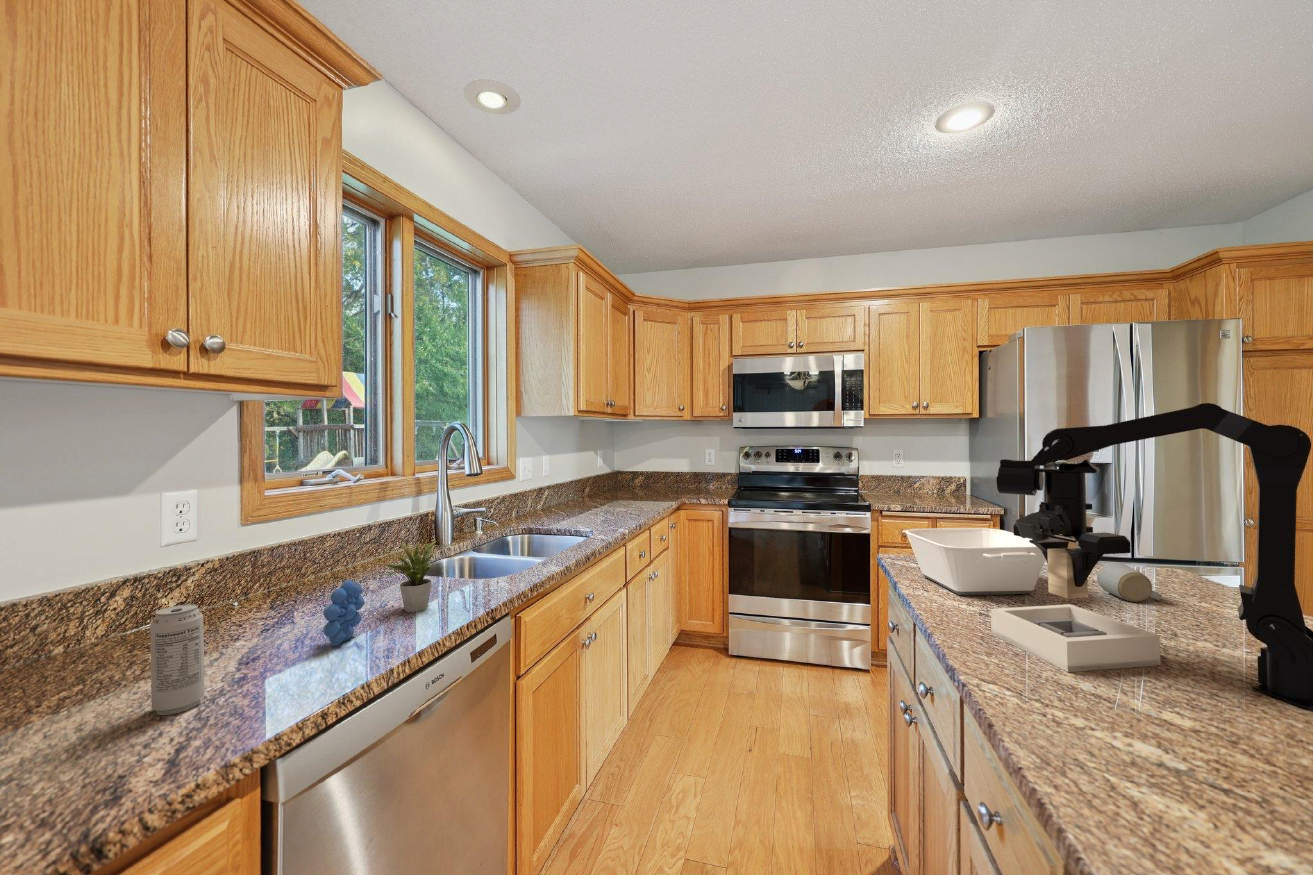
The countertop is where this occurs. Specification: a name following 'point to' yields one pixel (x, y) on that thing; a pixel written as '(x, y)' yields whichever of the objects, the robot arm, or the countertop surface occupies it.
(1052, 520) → the robot arm
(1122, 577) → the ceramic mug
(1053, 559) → the wooden block
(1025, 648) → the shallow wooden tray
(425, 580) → the house plant
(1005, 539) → the tub
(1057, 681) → the countertop surface
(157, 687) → the energy drink can
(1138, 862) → the countertop surface
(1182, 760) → the countertop surface
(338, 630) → the grapes
